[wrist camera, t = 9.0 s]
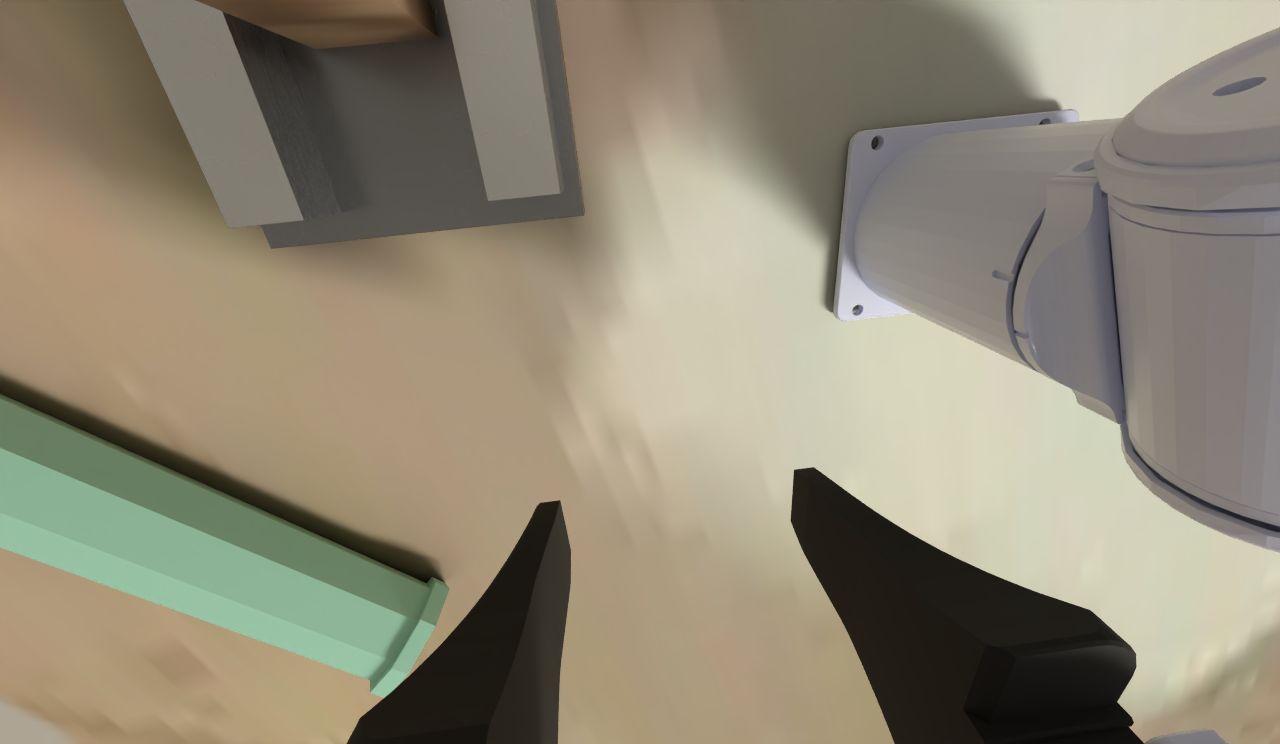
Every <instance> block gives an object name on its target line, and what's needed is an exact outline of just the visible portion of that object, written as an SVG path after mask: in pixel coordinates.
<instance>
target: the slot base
mask: <svg viewBox="0 0 1280 744" xmlns="http://www.w3.org/2000/svg"><path fill="white" fill-rule="evenodd" d="M123 1H124V3H125V5H126V8H127V10H128V12H129V14H130V16H131V18H132V20H133V23H134V25H135V27H136V29H137V31H138V33H139V36H140V38H141V40H142V42H143V44H144V46H145V49H146V51H147V53H148V55H149V57H150V59H151V62H152V64H153V66H154V68H155V70H156V72H157V74H158V77H159V79H160V81H161V83H162V85H163V87H164V90H165V92H166V94H167V96H168V98H169V100H170V103H171V105H172V107H173V109H174V111H175V113H176V115H177V118H178V120H179V122H180V124H181V126H182V128H183V131H184V133H185V135H186V137H187V139H188V141H189V144H190V146H191V148H192V150H193V152H194V154H195V157H196V159H197V161H198V163H199V165H200V167H201V169H202V172H203V174H204V176H205V178H206V180H207V182H208V185H209V187H210V189H211V191H212V193H213V195H214V198H215V200H216V202H217V204H218V206H219V208H220V211H221V213H222V215H223V217H224V219H225V221H226V223H227V226H228V228H235V227H244V226H254V225H261V226H262V228H263V230H264V233H265V235H266V237H267V240H268V242H269V244H270V247H271V249H273V248H283V247H292V246H301V245H311V244H320V243H330V242H339V241H348V240H358V239H367V238H376V237H386V236H395V235H405V234H414V233H423V232H433V231H442V230H452V229H461V228H470V227H480V226H489V225H499V224H508V223H517V222H527V221H536V220H545V219H555V218H564V217H574V216H583V215H584V214H585V209H584V202H583V195H582V187H581V180H580V173H579V166H578V158H577V151H576V144H575V136H574V129H573V122H572V114H571V107H570V100H569V92H568V85H567V78H566V71H565V63H564V56H563V49H562V41H561V34H560V27H559V19H558V12H557V5H556V0H430V3H431V7H432V12H433V16H434V20H435V24H436V29H437V33H438V37H439V38H431V39H421V40H410V41H399V42H388V43H378V44H367V45H356V46H345V47H335V48H324V49H314V48H312V47H309V46H307V45H304V44H302V43H299V42H297V41H294V40H292V39H289V38H287V37H284V36H282V35H280V34H277V33H275V32H272V31H270V30H267V29H265V28H262V27H260V26H257V25H255V24H252V23H250V22H247V21H245V20H242V19H240V18H237V17H235V16H232V15H230V14H228V13H225V12H223V11H220V10H218V9H215V8H213V7H210V6H208V5H205V4H203V3H200V2H198V1H195V0H123Z"/></svg>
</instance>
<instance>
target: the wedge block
mask: <svg viewBox="0 0 1280 744" xmlns="http://www.w3.org/2000/svg"><path fill="white" fill-rule="evenodd" d="M195 1H198V2H200V3H203V4H205V5H208V6H210V7H213V8H215V9H218V10H220V11H223V12H225V13H228V14H230V15H232V16H235V17H237V18H240V19H242V20H245V21H247V22H250V23H252V24H255V25H257V26H260V27H262V28H265V29H267V30H270V31H272V32H275V33H277V34H280V35H282V36H284V37H287V38H289V39H292V40H294V41H297V42H299V43H302V44H304V45H307V46H309V47H312V48H314V49H324V48H335V47H345V46H356V45H367V44H378V43H388V42H399V41H410V40H421V39H431V38H439V37H438V33H437V29H436V24H435V20H434V16H433V12H432V7H431V3H430V0H195Z"/></svg>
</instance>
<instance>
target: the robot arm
mask: <svg viewBox="0 0 1280 744" xmlns="http://www.w3.org/2000/svg"><path fill="white" fill-rule="evenodd" d="M1041 121H1042V125H1039V124H1040V122H1041ZM875 136H876V137H877V138H878V145H877V147H876V148H875V149H874V150H873V148H872V147H871V142H872V139H873V138H874V137H875ZM856 305H859V308H858V310H857V311H856V312H854V313H852V310H853V308H854V307H855V306H856ZM833 312H834V315H835V317H836V318H838V319H839V320H841V321H852V320H860V319H868V318H877V317H885V316H894V315H902V314H911V313H915V314H917V315H919V316H921V317H923V318H925V319H927V320H929V321H931V322H934V323H936V324H938V325H940V326H942V327H944V328H946V329H948V330H950V331H952V332H955V333H957V334H959V335H961V336H963V337H965V338H967V339H969V340H971V341H974V342H976V343H978V344H980V345H982V346H984V347H986V348H988V349H990V350H992V351H995V352H997V353H999V354H1001V355H1003V356H1005V357H1007V358H1009V359H1011V360H1014V361H1016V362H1018V363H1020V364H1022V365H1024V366H1026V367H1028V368H1030V369H1033V370H1035V371H1037V372H1039V373H1041V374H1043V375H1045V376H1046V377H1048V378H1050V379H1052V380H1054V381H1057V382H1059V383H1061V384H1063V385H1065V386H1067V387H1069V388H1071V389H1072V391H1073V392H1074V393H1075V395H1076V399H1077V402H1078V404H1080V405H1082V406H1084V407H1086V408H1088V409H1090V410H1092V411H1094V412H1096V413H1098V414H1100V415H1102V416H1104V417H1106V418H1108V419H1110V420H1112V421H1114V422H1116V423H1118V424H1121V425H1120V430H1121V446H1122V451H1123V454H1124V456H1125V459H1126V462H1127V463H1128V465H1129V466H1130V468H1131V469H1132V471H1133V472H1134V474H1135V475H1136V477H1137V478H1138V479H1139V480H1140V481H1141V482H1142V483H1143V484H1144V485H1145V486H1146V487H1147V488H1148V489H1149V490H1150V491H1151V492H1152V493H1153V494H1154V495H1156V496H1157V497H1158V498H1160V499H1161V500H1163V501H1164V502H1165V503H1167V504H1168V505H1169V506H1171V507H1172V508H1174V509H1176V510H1177V511H1179V512H1181V513H1183V514H1184V515H1186V516H1188V517H1190V518H1191V519H1193V520H1195V521H1197V522H1199V523H1201V524H1203V525H1205V526H1208V527H1210V528H1212V529H1214V530H1217V531H1219V532H1221V533H1223V534H1226V535H1228V536H1230V537H1233V538H1236V539H1239V540H1242V541H1245V542H1248V543H1250V544H1253V545H1256V546H1259V547H1262V548H1265V549H1268V550H1272V551H1276V552H1280V27H1279V28H1277V29H1274V30H1272V31H1269V32H1267V33H1265V34H1262V35H1260V36H1257V37H1255V38H1253V39H1250V40H1248V41H1246V42H1243V43H1241V44H1239V45H1237V46H1234V47H1232V48H1230V49H1228V50H1226V51H1223V52H1221V53H1219V54H1217V55H1215V56H1213V57H1211V58H1209V59H1207V60H1205V61H1203V62H1201V63H1199V64H1197V65H1195V66H1193V67H1191V68H1189V69H1188V70H1186V71H1184V72H1182V73H1180V74H1179V75H1177V76H1175V77H1174V78H1172V79H1170V80H1169V81H1167V82H1166V83H1164V84H1163V85H1161V86H1160V87H1158V88H1157V89H1155V90H1154V91H1153V92H1151V93H1150V94H1149V95H1148V96H1146V97H1145V98H1144V99H1143V100H1142V101H1141V102H1140V103H1139V104H1138V105H1137V106H1136V107H1135V108H1134V109H1133V110H1132V111H1131V112H1130V113H1128V114H1127V115H1126V116H1125V117H1123V118H1116V119H1105V120H1093V121H1081V122H1079V114H1078V112H1077V111H1076V110H1072V109H1068V110H1059V111H1049V112H1039V113H1029V114H1019V115H1009V116H1000V117H990V118H980V119H970V120H960V121H950V122H941V123H931V124H921V125H911V126H901V127H891V128H882V129H872V130H863V131H859V132H857V133H856V134H854V135H853V137H852V138H851V140H850V143H849V149H848V159H847V170H846V181H845V191H844V202H843V213H842V223H841V234H840V244H839V255H838V266H837V276H836V287H835V297H834V308H833ZM791 523H792V525H793V528H794V530H795V533H796V535H797V538H798V540H799V543H800V545H801V547H802V550H803V552H804V554H805V556H806V558H807V559H808V561H809V563H810V565H811V567H812V568H813V570H814V572H815V574H816V576H817V577H818V579H819V581H820V583H821V585H822V586H823V588H824V590H825V592H826V593H827V595H828V597H829V599H830V601H831V602H832V604H833V606H834V608H835V609H836V611H837V613H838V615H839V617H840V618H841V620H842V622H843V624H844V626H845V628H846V630H847V632H848V634H849V636H850V638H851V640H852V643H853V645H854V647H855V649H856V652H857V654H858V656H859V658H860V661H861V663H862V665H863V667H864V670H865V672H866V674H867V677H868V679H869V681H870V684H871V686H872V689H873V691H874V693H875V696H876V698H877V700H878V703H879V705H880V708H881V710H882V713H883V715H884V718H885V720H886V723H887V725H888V728H889V730H890V733H891V735H892V738H893V740H894V743H895V744H1228V743H1227V742H1226V741H1224V740H1223V739H1222V738H1221V737H1220V736H1219V735H1218V734H1217V733H1216V732H1215V731H1214V730H1211V729H1207V728H1204V729H1198V730H1191V731H1185V732H1179V733H1172V734H1166V735H1161V736H1158V737H1154V738H1152V739H1150V740H1149V741H1147V742H1146V743H1143V742H1142V741H1141V740H1140V739H1139V738H1138V736H1137V735H1136V734H1135V733H1134V732H1133V731H1132V730H1131V729H1130V728H1129V726H1132V725H1133V723H1134V722H1133V720H1132V717H1131V716H1130V715H1129V714H1128V713H1127V712H1126V711H1125V710H1124V709H1123V708H1122V707H1121V706H1120V705H1119V704H1118V703H1117V701H1118V699H1119V698H1120V696H1121V694H1122V693H1123V691H1124V689H1125V688H1126V686H1127V685H1128V683H1129V681H1130V680H1131V678H1132V676H1133V674H1134V671H1135V669H1136V653H1135V652H1134V650H1133V649H1132V647H1131V646H1130V645H1129V644H1127V643H1126V642H1125V641H1124V640H1123V639H1122V638H1121V637H1120V636H1119V635H1117V634H1116V633H1115V632H1114V631H1113V630H1112V629H1111V628H1110V627H1109V626H1108V625H1106V624H1105V623H1104V622H1103V621H1102V620H1101V619H1100V618H1099V617H1098V616H1096V615H1095V614H1094V613H1093V612H1092V611H1091V610H1088V609H1085V608H1082V607H1079V606H1076V605H1073V604H1070V603H1067V602H1064V601H1061V600H1058V599H1055V598H1052V597H1049V596H1046V595H1043V594H1040V593H1038V592H1035V591H1032V590H1030V589H1027V588H1024V587H1022V586H1019V585H1017V584H1014V583H1012V582H1009V581H1007V580H1004V579H1002V578H999V577H997V576H995V575H992V574H990V573H988V572H985V571H983V570H981V569H979V568H976V567H974V566H972V565H970V564H968V563H966V562H963V561H961V560H959V559H957V558H955V557H953V556H951V555H949V554H947V553H945V552H943V551H941V550H939V549H937V548H936V547H934V546H932V545H930V544H928V543H926V542H924V541H923V540H921V539H919V538H917V537H915V536H914V535H912V534H910V533H908V532H907V531H905V530H904V529H902V528H900V527H899V526H897V525H896V524H894V523H892V522H891V521H889V520H888V519H886V518H884V517H883V516H881V515H880V514H878V513H877V512H875V511H874V510H872V509H871V508H869V507H868V506H866V505H865V504H864V503H862V502H861V501H859V500H858V499H857V498H855V497H854V496H852V495H851V494H850V493H848V492H847V491H845V490H844V489H843V488H841V487H840V486H839V485H837V484H836V483H834V482H833V481H832V480H830V479H829V478H828V477H826V476H825V475H824V474H822V473H821V472H820V471H818V470H817V469H815V468H814V467H813V468H805V469H797V470H794V480H793V495H792V510H791ZM570 583H571V549H570V544H569V539H568V535H567V530H566V525H565V521H564V516H563V511H562V507H561V502H560V500H559V501H552V502H544V503H540V504H539V505H538V506H537V507H536V509H535V511H534V513H533V515H532V517H531V519H530V521H529V523H528V525H527V527H526V529H525V530H524V532H523V534H522V536H521V538H520V539H519V541H518V543H517V544H516V546H515V548H514V549H513V551H512V553H511V554H510V556H509V558H508V559H507V561H506V562H505V564H504V565H503V567H502V568H501V570H500V571H499V573H498V574H497V576H496V577H495V579H494V580H493V582H492V583H491V584H490V586H489V587H488V589H487V590H486V591H485V593H484V594H483V595H482V597H481V598H480V599H479V601H478V602H477V603H476V604H475V606H474V607H473V608H472V609H471V611H470V612H469V613H468V614H467V616H466V617H465V618H464V619H463V620H462V621H461V623H460V624H459V625H458V626H457V627H456V628H455V630H454V631H453V632H452V633H451V634H450V635H449V636H448V637H447V639H446V640H445V641H444V642H443V643H442V644H441V645H440V646H439V647H438V648H437V649H436V650H435V651H434V652H433V653H432V654H431V655H430V656H429V657H428V658H427V659H426V660H425V661H424V662H423V663H422V664H421V665H420V666H419V667H418V668H417V669H416V670H415V671H414V672H413V673H412V674H411V675H410V676H409V677H408V678H406V679H405V680H404V681H403V682H402V683H401V684H400V685H399V686H398V687H396V688H395V689H394V690H393V691H392V692H391V693H389V694H388V695H387V696H386V697H385V698H384V699H382V700H381V701H380V702H379V703H378V704H377V705H375V706H374V707H373V708H372V709H371V710H369V711H368V712H367V713H366V714H365V715H363V716H362V717H361V718H360V719H359V721H358V723H357V725H356V727H355V729H354V731H353V733H352V735H351V736H350V738H349V740H348V742H347V744H558V711H559V682H560V667H561V657H562V649H563V641H564V633H565V625H566V617H567V609H568V601H569V592H570Z"/></svg>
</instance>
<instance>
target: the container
mask: <svg viewBox="0 0 1280 744" xmlns="http://www.w3.org/2000/svg"><path fill="white" fill-rule="evenodd" d="M0 548H3V549H6V550H9V551H12V552H14V553H17V554H20V555H23V556H26V557H28V558H31V559H34V560H37V561H39V562H42V563H45V564H48V565H51V566H53V567H56V568H59V569H62V570H65V571H67V572H70V573H73V574H76V575H78V576H81V577H84V578H87V579H90V580H92V581H95V582H98V583H101V584H104V585H106V586H109V587H112V588H115V589H117V590H120V591H123V592H126V593H129V594H131V595H134V596H137V597H140V598H143V599H145V600H148V601H151V602H154V603H157V604H159V605H162V606H165V607H168V608H170V609H173V610H176V611H179V612H182V613H184V614H187V615H190V616H193V617H196V618H198V619H201V620H204V621H207V622H209V623H212V624H215V625H218V626H221V627H223V628H226V629H229V630H232V631H235V632H237V633H240V634H243V635H246V636H248V637H251V638H254V639H257V640H260V641H262V642H265V643H268V644H271V645H274V646H276V647H279V648H282V649H285V650H287V651H290V652H293V653H296V654H299V655H301V656H304V657H307V658H310V659H313V660H315V661H318V662H321V663H324V664H326V665H329V666H332V667H335V668H338V669H340V670H343V671H346V672H349V673H352V674H354V675H357V676H360V677H363V678H365V679H368V680H370V693H372V694H375V695H378V696H381V697H384V698H385V697H386V696H387V695H388V694H389V693H391V692H392V691H393V690H394V689H395V688H396V687H397V686H398V685H399V684H400V683H401V682H402V680H403V679H404V678H405V677H406V676H407V675H408V674H409V672H410V670H411V668H412V667H413V665H414V663H415V661H416V659H417V658H418V656H419V654H420V652H421V651H422V649H423V647H424V645H425V644H426V642H427V640H428V638H429V637H430V635H431V633H432V631H433V630H434V628H435V626H436V624H437V621H438V618H439V615H440V613H441V610H442V607H443V605H444V602H445V599H446V597H447V594H448V591H449V587H448V586H447V585H446V584H445V583H444V582H442V581H440V580H438V579H436V578H433V577H431V579H430V580H429V581H428V582H427V583H425V582H423V581H420V580H418V579H416V578H414V577H411V576H409V575H407V574H405V573H402V572H400V571H398V570H396V569H393V568H391V567H389V566H387V565H385V564H382V563H380V562H378V561H376V560H373V559H371V558H369V557H367V556H364V555H362V554H360V553H358V552H355V551H353V550H351V549H349V548H346V547H344V546H342V545H340V544H337V543H335V542H333V541H331V540H329V539H326V538H324V537H322V536H320V535H317V534H315V533H313V532H311V531H308V530H306V529H304V528H302V527H299V526H297V525H295V524H293V523H290V522H288V521H286V520H284V519H282V518H279V517H277V516H275V515H273V514H270V513H268V512H266V511H264V510H261V509H259V508H257V507H255V506H252V505H250V504H248V503H246V502H243V501H241V500H239V499H237V498H234V497H232V496H230V495H228V494H225V493H223V492H221V491H219V490H216V489H214V488H212V487H210V486H207V485H205V484H203V483H201V482H198V481H196V480H194V479H192V478H189V477H187V476H185V475H183V474H180V473H178V472H176V471H173V470H171V469H169V468H167V467H164V466H162V465H160V464H158V463H155V462H153V461H151V460H149V459H146V458H144V457H142V456H140V455H137V454H135V453H133V452H131V451H128V450H126V449H124V448H122V447H119V446H117V445H115V444H113V443H110V442H108V441H106V440H104V439H101V438H99V437H97V436H95V435H92V434H90V433H88V432H86V431H83V430H81V429H79V428H77V427H74V426H72V425H70V424H68V423H65V422H63V421H61V420H58V419H56V418H54V417H52V416H49V415H47V414H45V413H43V412H40V411H38V410H36V409H34V408H31V407H29V406H27V405H25V404H22V403H20V402H18V401H16V400H13V399H11V398H9V397H7V396H4V395H2V394H0Z"/></svg>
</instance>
